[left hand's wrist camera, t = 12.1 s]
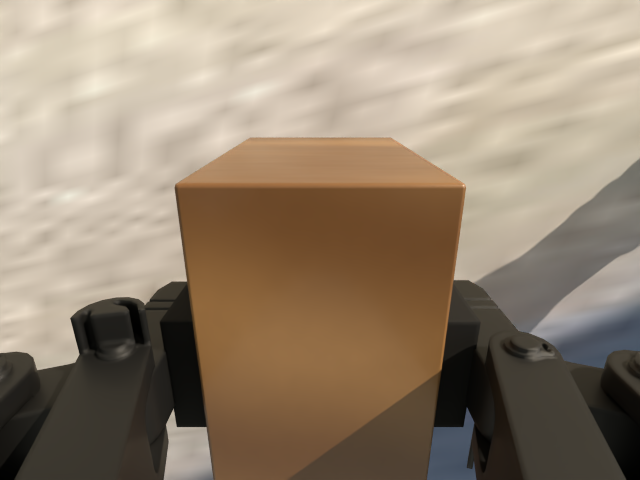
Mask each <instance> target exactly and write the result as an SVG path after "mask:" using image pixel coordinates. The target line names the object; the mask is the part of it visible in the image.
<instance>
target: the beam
mask: <svg viewBox="0 0 640 480" xmlns="http://www.w3.org/2000/svg"><path fill="white" fill-rule="evenodd" d="M465 191H466V186H465V184H464V183H462V182H461V181H459V180H457V179H456V178H454V177H453V176H451V175H449V174H448V173H446V172H445V171H443V170H441V169H440V168H438V167H437V166H435V165H434V164H432V163H430V162H429V161H427V160H426V159H424V158H422V157H421V156H419V155H418V154H416V153H414V152H413V151H411V150H410V149H408V148H406V147H405V146H403V145H402V144H400V143H398V142H397V141H395V140H394V139H392V138H249V139H247V140H246V141H244V142H242V143H241V144H239V145H238V146H236V147H234V148H233V149H231V150H230V151H228V152H226V153H225V154H223V155H222V156H220V157H218V158H217V159H215V160H213V161H212V162H210V163H209V164H207V165H205V166H204V167H202V168H201V169H199V170H197V171H196V172H194V173H193V174H191V175H189V176H188V177H186V178H185V179H183V180H181V181H180V182H178V183H176V185H175V194H176V202H177V209H178V216H179V224H180V231H181V239H182V246H183V254H184V261H185V269H186V276H187V284H188V291H189V299H190V306H191V314H192V321H193V329H194V336H195V344H196V351H197V359H198V366H199V374H200V381H201V388H202V396H203V403H204V411H205V418H206V426H207V433H208V441H209V448H210V456H211V463H212V471H213V478H214V480H427V473H428V466H429V459H430V451H431V444H432V436H433V429H434V421H435V414H436V406H437V399H438V392H439V384H440V377H441V369H442V362H443V354H444V347H445V339H446V332H447V325H448V317H449V310H450V302H451V295H452V287H453V280H454V273H455V265H456V258H457V250H458V243H459V235H460V228H461V220H462V213H463V206H464V198H465Z"/></svg>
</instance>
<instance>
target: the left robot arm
mask: <svg viewBox="0 0 640 480" xmlns="http://www.w3.org/2000/svg"><path fill="white" fill-rule="evenodd" d="M70 319H71V323H72V326H73V330H74V334H75V338H76V342H77V346H78V350H79V354H80V355H79V357H78V359H77V360H76V362H75V363H72V364H68V365H63V366H58V367H53V368H48V369H43V370H37V369H36V365H35V362H34V359H33V357H32V356H30V355H29V354H28V353H22V352H10V353H0V480H164V472H165V465H166V457H167V449H168V434H167V428H166V423H167V421H168V419H169V417H170V415H171V412H172V410H173V408H174V412H175V418H176V424H177V427H207V426H206V418H205V411H204V403H203V396H202V388H201V381H200V374H199V366H198V359H197V351H196V344H195V336H194V329H193V321H192V314H191V306H190V299H189V291H188V284H187V282H171V283H169V284H167V285H166V286H164V287H162V288H161V289H159V290H158V291H157V292H156V293H155V294H154V295H153V296H152V298H151V299H150V302H147V304H146V305H144V303H143V302H142V301H140V300H139V299H135V298H130V297H121V298H112V299H106V300H102V301H99V302H96V303H93V304H90V305H88V306H86V307H84V308H82V309H81V310H79V311H77V312H76V313H75V314H74V315H73V316H72V317H71V318H70ZM466 408H468V410H469V412H470V414H471V416H472V418H473V420H474V422H475V423H474V428H473V434H472V440H471V445H470V451H469V456H468V463H467V468H470V469H472V468H473V462H474V464H475V471H476V479H477V480H640V351H630V350H621V351H614V352H612V353H611V354H610V355H608V357H607V360H606V363H605V367H604V369H602V368H597V367H592V366H586V365H581V364H576V363H571V362H567V361H564V360H563V358H562V356H561V354H560V353H559V352H558V350H557V349H556V348H555V347H554V346H553V345H551V344H550V343H548V342H547V341H545V340H544V339H542V338H539V337H537V336H534V335H532V334H529V333H524V332H520V331H518V330H517V329H516V328H515V327H514V325H513V324H512V323H511V322H510V321H509V319H508V318H507V317H506V316H505V315H504V313H503V312H502V311H501V310H500V309H498V306H497V305H496V304H495V303H494V302H493V300H491V298H490V297H489V296H488V294H487V293H486V292H485V291H484V290H483V289H482V288H481V287H479V286H477V285H475V284H474V283H472V282H470V281H469V280H453V287H452V295H451V302H450V310H449V317H448V325H447V332H446V339H445V347H444V354H443V362H442V369H441V377H440V384H439V392H438V399H437V406H436V414H435V421H434V427H463V426H464V420H465V414H466Z"/></svg>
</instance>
